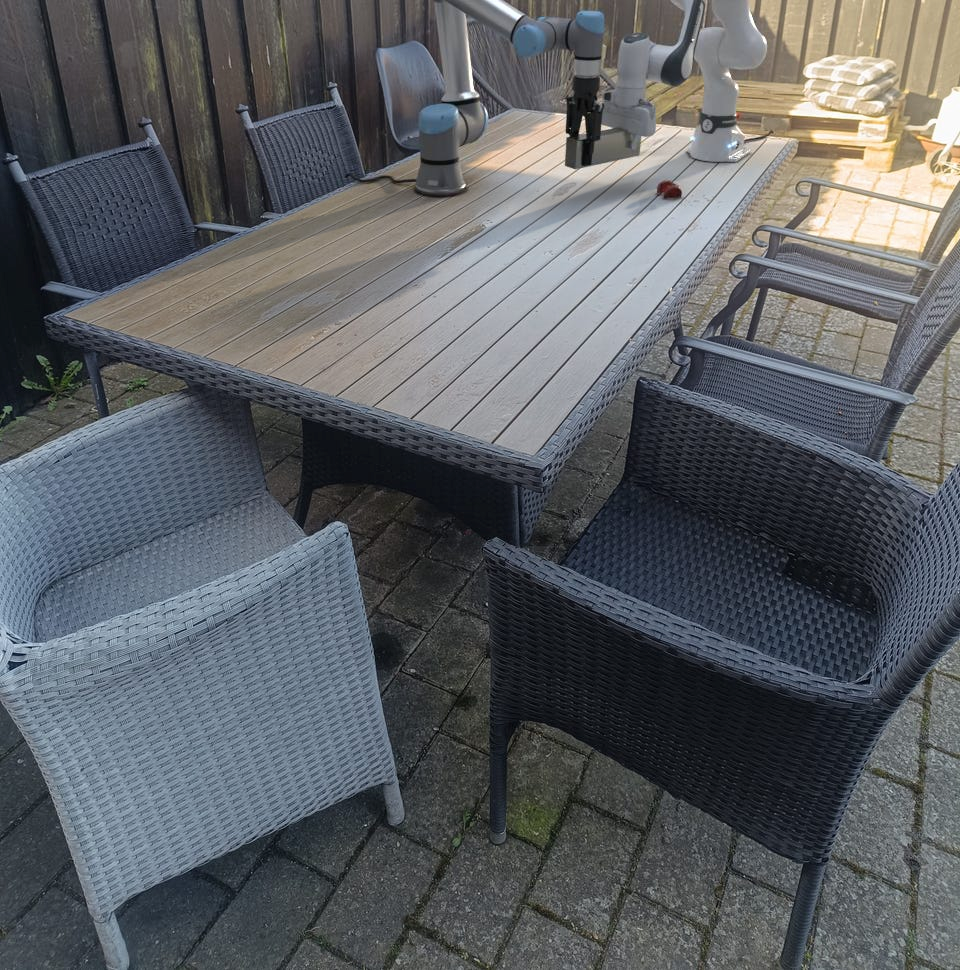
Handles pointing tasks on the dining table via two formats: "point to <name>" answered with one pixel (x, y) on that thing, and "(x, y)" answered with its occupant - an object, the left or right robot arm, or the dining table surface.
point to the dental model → (669, 189)
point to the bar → (601, 148)
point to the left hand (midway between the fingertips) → (580, 162)
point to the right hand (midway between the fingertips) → (625, 146)
